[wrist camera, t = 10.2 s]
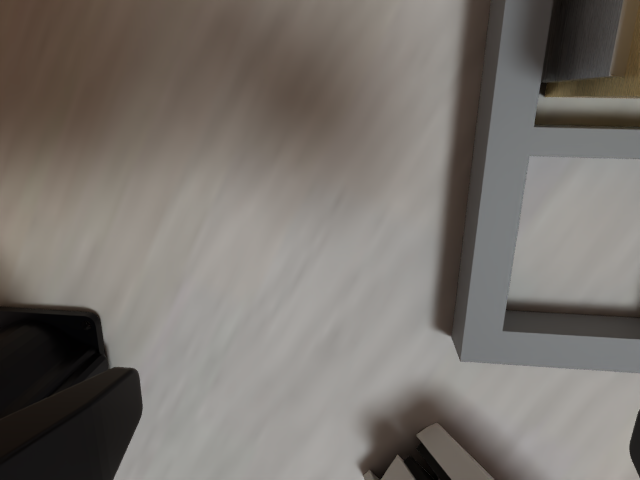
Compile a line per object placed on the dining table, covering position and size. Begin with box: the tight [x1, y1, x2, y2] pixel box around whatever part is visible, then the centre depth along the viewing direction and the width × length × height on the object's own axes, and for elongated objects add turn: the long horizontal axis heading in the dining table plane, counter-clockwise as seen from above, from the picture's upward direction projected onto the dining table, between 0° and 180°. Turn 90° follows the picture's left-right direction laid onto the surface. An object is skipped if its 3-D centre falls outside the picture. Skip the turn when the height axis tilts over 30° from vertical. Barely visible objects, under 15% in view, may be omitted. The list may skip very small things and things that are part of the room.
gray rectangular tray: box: [452, 0, 640, 373], centre depth 17 cm, size 10×18×2 cm, turn 179°
